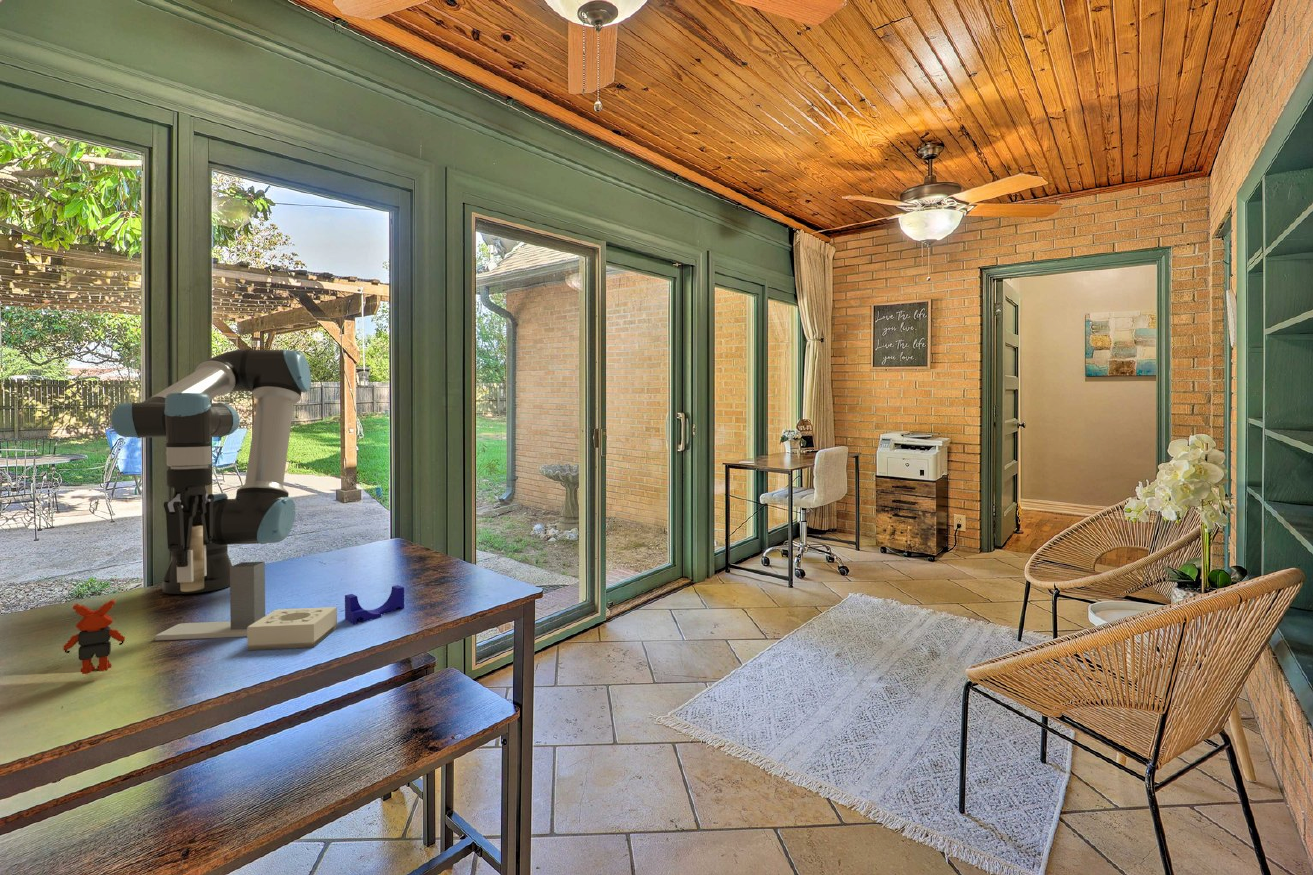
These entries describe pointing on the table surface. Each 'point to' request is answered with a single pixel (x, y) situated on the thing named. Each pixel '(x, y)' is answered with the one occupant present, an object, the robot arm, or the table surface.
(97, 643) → the toy animal
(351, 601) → the blue curved cradle
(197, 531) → the beech dowel
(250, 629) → the socket block
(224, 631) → the strip
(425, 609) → the table surface
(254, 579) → the square bar
